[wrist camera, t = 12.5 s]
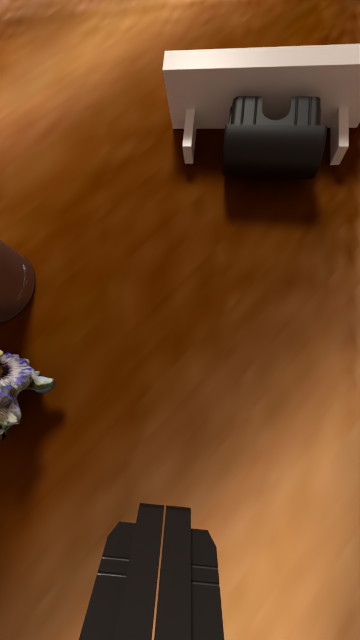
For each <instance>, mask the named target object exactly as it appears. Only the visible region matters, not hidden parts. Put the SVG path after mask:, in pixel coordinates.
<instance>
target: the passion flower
mask: <svg viewBox="0 0 360 640" xmlns="http://www.w3.org/2000/svg"><path fill="white" fill-rule="evenodd" d="M40 374H41V372H40V371H34V369H33V368H31V366H30V361H29V360H28V359H21V358H19V355H15V354H10V353H9V352H7V353H5V354H3V351H1V350H0V425H1V426H2V430H1V428H0V439H2V440H4V439H5V437H6V431H7V430H8V428H9V427H11V426H12V425H15V424H19V423H20V421H21V419H22V413H21V411H20V408H19V404H18V401H17V396H18V394H19V393H20V392H21V391H22V390H25V389H31V390H35V391H36V392H38V393H46V392H49V391H50V390H52V389H53V388H54V386H55V382H54V380H53V379H52V378H46V377H42V376H40Z"/></svg>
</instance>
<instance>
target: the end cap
mask: <svg viewBox="0 0 360 640" xmlns="http://www.w3.org/2000/svg"><path fill="white" fill-rule="evenodd" d="M262 97H263V96H238V97H235V98H234V99H233V104H232V106H231V107H230V114H229V124H227V125H225V131H224V143H223V159H222V173H223V175H224V176H239V177H269V178H298V179H312V178H314V177H315V176H316V174H317V172H318V170H319V167H320V164H321V161H322V157H323V153H324V148H325V142H326V135H327V126H325V125H320V121H321V107H320V104H321V100H320V98H319V97H316V96H291V100H290V112H289V114H288V115H287V116H286V117H285V118H283V119H280V120H270V119H268V118H266V117H265V116H264V115H263V113H262Z"/></svg>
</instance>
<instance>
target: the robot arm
mask: <svg viewBox="0 0 360 640" xmlns="http://www.w3.org/2000/svg"><path fill="white" fill-rule="evenodd" d="M34 286H35V277H34V271H33V269H32V266H31V265H30V263H29V262H28V260H27V259H26V258H25V257H23V256H22V255H21V254H19V253H18V252H17V251H15V250H14V249H12V248H11V247H10V246H8V245H7V244H5V243H4V242H3V241H1V240H0V323H1V322H4V321H7V320H10V319H12V318H13V317H15V316H17V315H18V314H19V313H20V312H21V311H22V310H23V309H24V308H25V307H26V305H27V304H28V303H29V301H30V299H31V297H32V294H33V291H34ZM163 513H164V505H154V504H144V503H140V506H139V510H138V516H137V521H136V523H127V522H119V523H118V524H117V525H116V527H115V528H114V529H113V530H112V532H111V533H110V534H109V536H108V537H107V541H106V544H105V548H104V552H103V555H102V559H101V562H100V566H99V570H98V575H97V577H96V580H95V584H94V587H93V591H92V595H91V598H90V602H89V605H88V609H87V613H86V616H85V620H84V623H83V627H82V631H81V634H80V638H79V640H152V629H153V619H154V609H155V599H156V588H157V578H158V567H159V557H160V546H161V535H162V524H163ZM154 640H224V632H223V620H222V609H221V597H220V587H219V574H218V562H217V550H216V546H215V544H214V542H213V540H212V538H211V536H210V534H209V532H208V530H200V529H191V509H190V508H186V507H176V506H166V515H165V526H164V537H163V547H162V558H161V569H160V580H159V591H158V602H157V614H156V625H155V636H154Z"/></svg>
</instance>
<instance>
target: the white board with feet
mask: <svg viewBox="0 0 360 640" xmlns="http://www.w3.org/2000/svg"><path fill="white" fill-rule="evenodd" d="M163 75H164V81H165V86H166V92H167V98H168V103H169V109H170V115H171V121H172V126H173V129H184V136H183V146H182V147H183V154H184V160H185V164H193V160H194V150H195V140H196V129H225V125H227V124H229V114H230V107H231V106H232V104H233V99H234V98H235V97H238V96H263V97H262V113H263V115H264V116H265V117H266V118H268V119H270V120H280V119H283V118H285V117H286V116H287V115H288V114H289V112H290V100H291V96H316V97H319V98H320V100H321V104H320V107H321V121H320V125H325V126H327V128H330V165H339V164H340V162H341V160H342V158H343V157H344V155H345V153H346V151H347V149H348V147H349V128H357V126H358V125H359V123H360V44H343V45H315V46H288V47H261V48H234V49H207V50H180V51H165V55H164V63H163Z"/></svg>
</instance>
